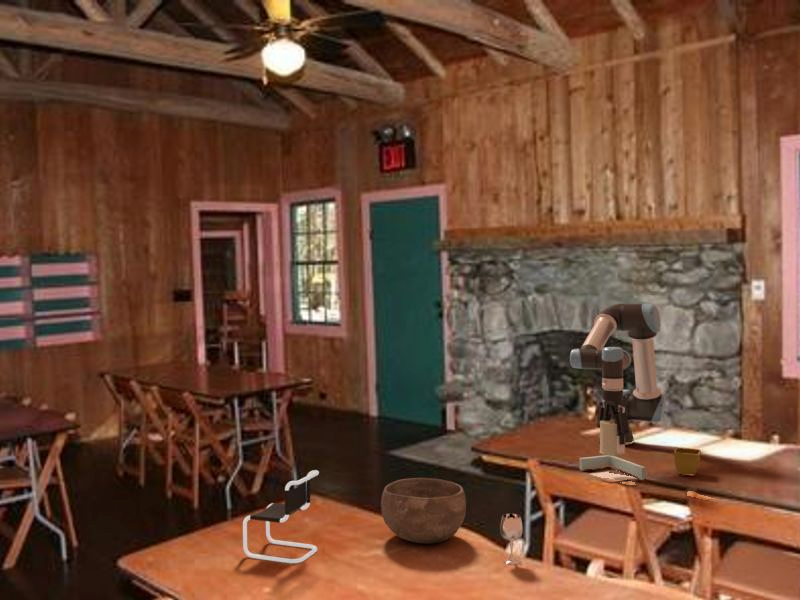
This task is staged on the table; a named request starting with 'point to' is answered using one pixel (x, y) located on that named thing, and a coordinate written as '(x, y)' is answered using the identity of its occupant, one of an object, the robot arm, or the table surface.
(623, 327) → the robot arm
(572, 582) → the table surface
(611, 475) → the tile
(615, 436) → the can
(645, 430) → the table surface
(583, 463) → the fence
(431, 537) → the bowl
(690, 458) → the flower pot
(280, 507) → the chair
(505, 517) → the wineglass
